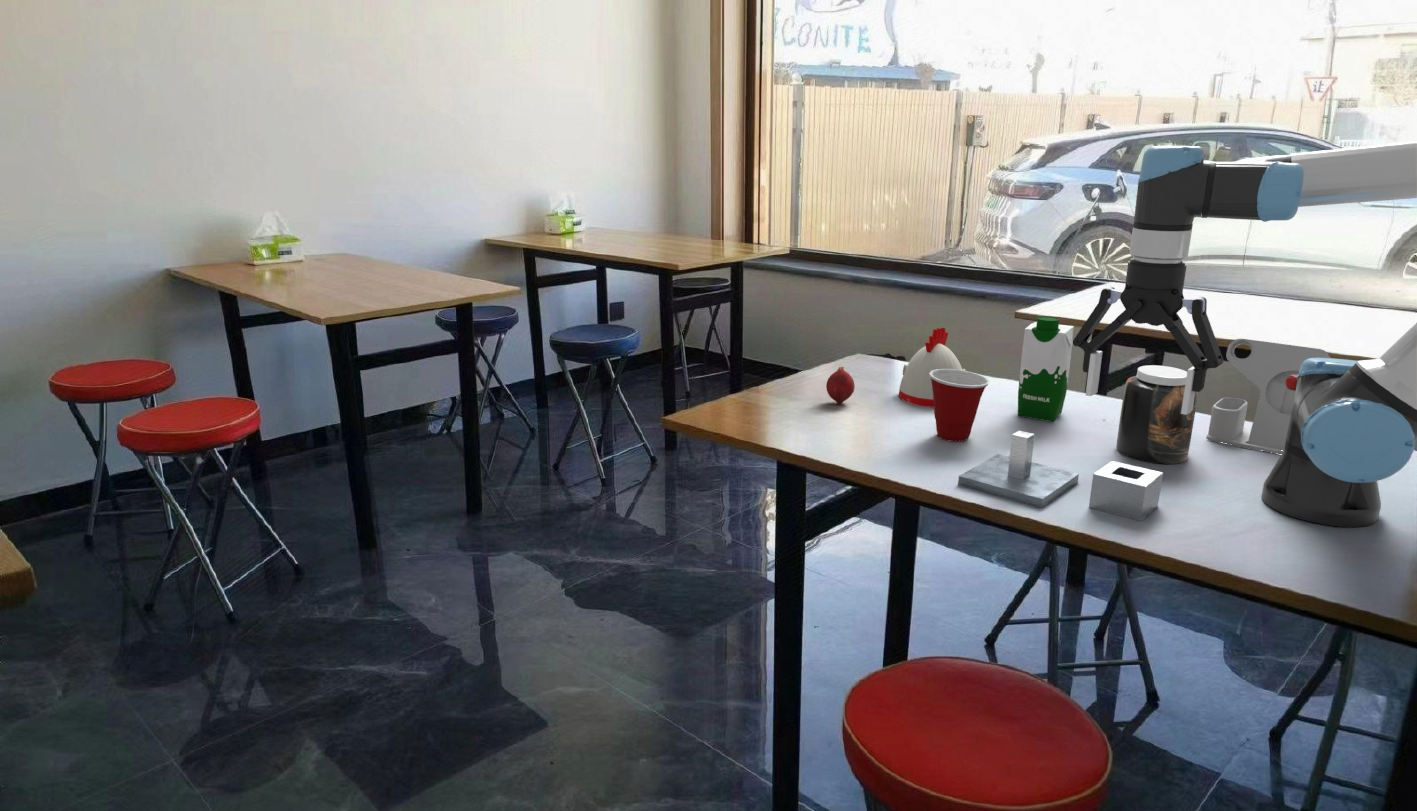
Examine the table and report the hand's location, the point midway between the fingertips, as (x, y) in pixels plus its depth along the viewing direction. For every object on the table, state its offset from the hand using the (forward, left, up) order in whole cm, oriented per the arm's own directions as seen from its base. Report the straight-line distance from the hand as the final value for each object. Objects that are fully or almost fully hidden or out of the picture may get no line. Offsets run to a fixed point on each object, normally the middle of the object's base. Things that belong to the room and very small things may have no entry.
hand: (1137, 403), depth 136 cm
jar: (+5, -28, -17) cm, 33 cm away
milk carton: (+29, -36, -17) cm, 49 cm away
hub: (0, 0, -17) cm, 17 cm away
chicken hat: (+51, -32, -17) cm, 62 cm away
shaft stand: (+16, +2, -17) cm, 23 cm away
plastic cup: (+35, -12, -17) cm, 41 cm away
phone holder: (-8, -47, -17) cm, 51 cm away
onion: (+63, -15, -17) cm, 67 cm away
